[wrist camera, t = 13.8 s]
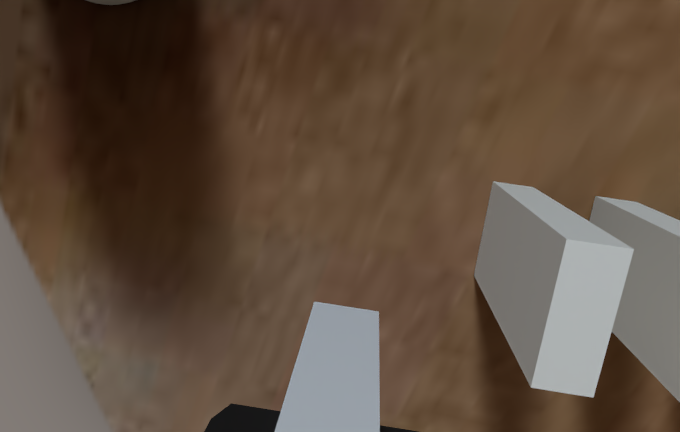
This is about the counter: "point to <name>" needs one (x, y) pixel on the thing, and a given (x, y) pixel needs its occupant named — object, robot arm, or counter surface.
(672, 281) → the ivory domino
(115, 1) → the travel mug
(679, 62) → the counter surface
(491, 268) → the ivory domino
